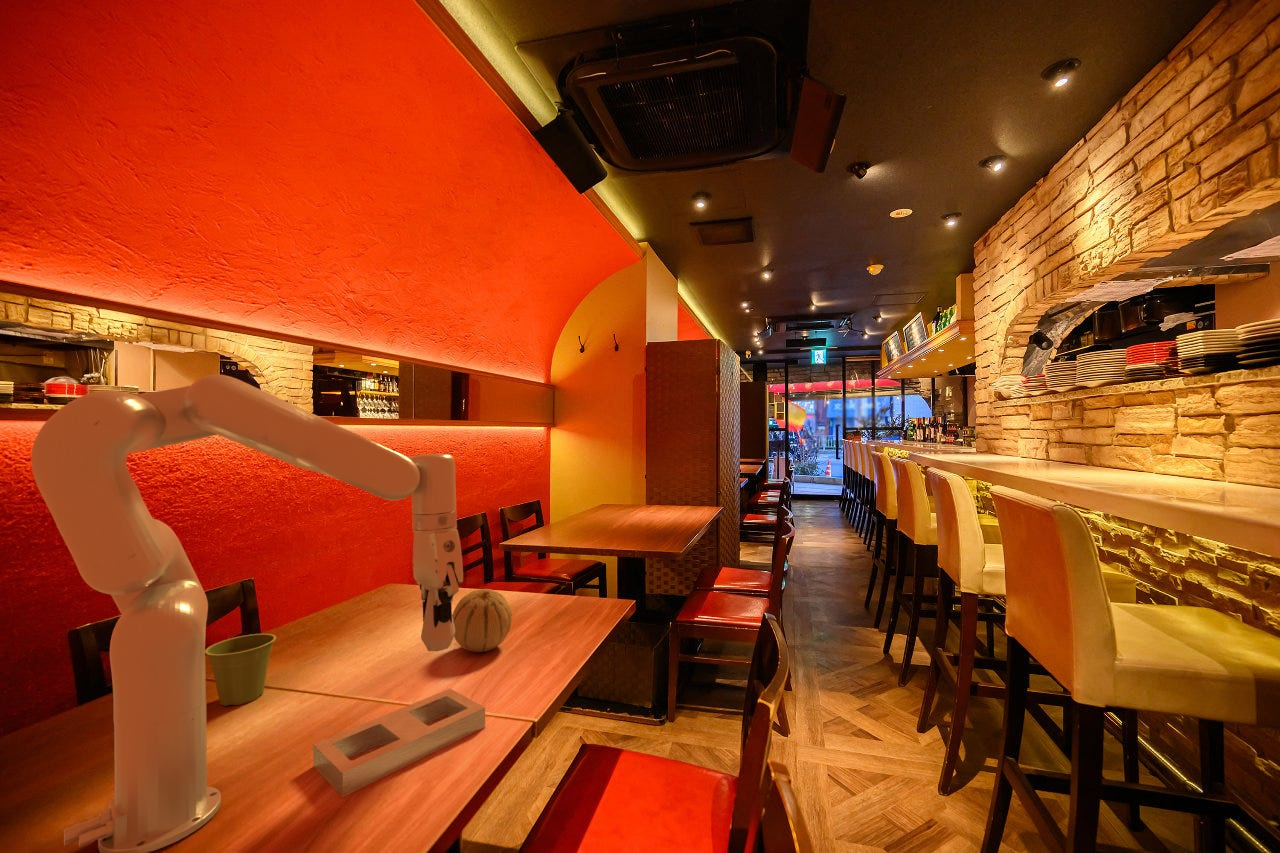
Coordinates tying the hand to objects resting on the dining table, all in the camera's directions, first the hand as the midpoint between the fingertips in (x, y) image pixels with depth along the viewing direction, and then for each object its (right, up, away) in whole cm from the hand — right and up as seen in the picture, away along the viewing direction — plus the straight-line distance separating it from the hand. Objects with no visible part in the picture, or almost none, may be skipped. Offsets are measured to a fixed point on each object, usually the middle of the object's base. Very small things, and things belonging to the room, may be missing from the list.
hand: (437, 622), depth 96 cm
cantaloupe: (-3, -20, +36) cm, 41 cm away
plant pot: (-45, -21, +14) cm, 52 cm away
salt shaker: (0, -5, 0) cm, 5 cm away
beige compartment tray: (-4, -19, -5) cm, 20 cm away
